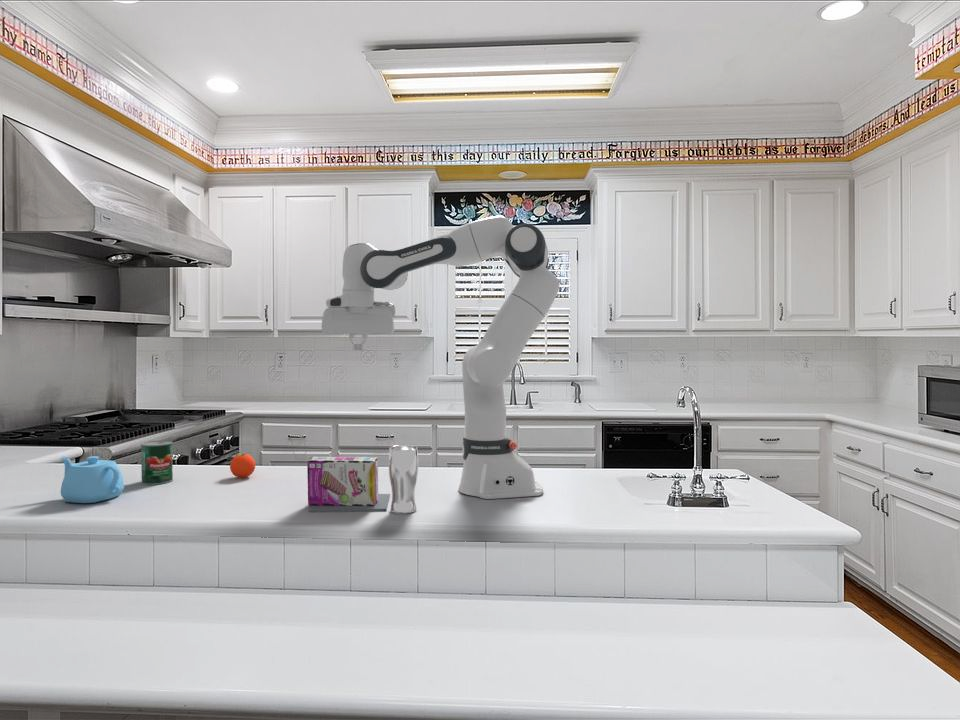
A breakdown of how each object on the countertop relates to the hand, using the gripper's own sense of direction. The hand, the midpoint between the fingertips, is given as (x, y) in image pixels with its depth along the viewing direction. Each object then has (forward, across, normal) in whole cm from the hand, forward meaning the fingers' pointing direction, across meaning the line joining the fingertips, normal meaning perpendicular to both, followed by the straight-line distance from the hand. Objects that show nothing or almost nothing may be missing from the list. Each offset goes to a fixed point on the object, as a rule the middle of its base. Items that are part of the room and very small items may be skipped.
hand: (358, 350), depth 180 cm
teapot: (+38, +65, +17) cm, 77 cm away
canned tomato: (+37, +56, -1) cm, 67 cm away
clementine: (+37, +34, -5) cm, 51 cm away
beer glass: (+37, -14, +33) cm, 52 cm away
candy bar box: (+31, +9, +27) cm, 42 cm away
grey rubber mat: (+37, -1, +26) cm, 45 cm away
